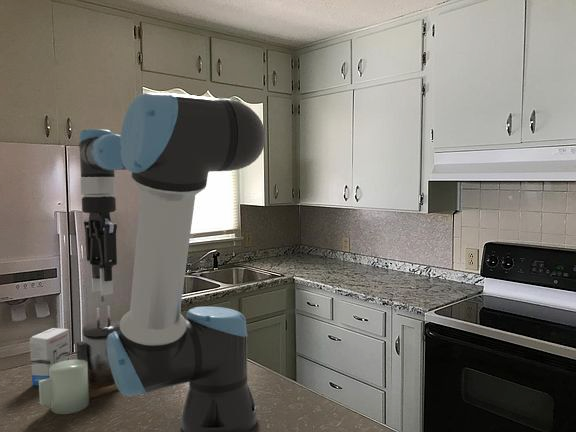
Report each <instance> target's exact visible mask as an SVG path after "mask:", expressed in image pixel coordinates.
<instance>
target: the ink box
mask: <svg viewBox="0 0 576 432" xmlns="http://www.w3.org/2000/svg"><path fill="white" fill-rule="evenodd" d="M69 333H70V331H69V328H60V327H59V328H58V327H52V328H49V329H47V330H44V331H42V332H40V333H37V334H35V335H32V336H31V337H30V338H29V348H30V364H31V366H30V367H31V383H32V386H38V387H39V381H40V380H44V379H47V378H50V375H49V368H50V367H51V366H52V365H54V364H56V363H58V362H62V361H66V360H71V355H70V352H71V351H70V334H69Z"/></svg>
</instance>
